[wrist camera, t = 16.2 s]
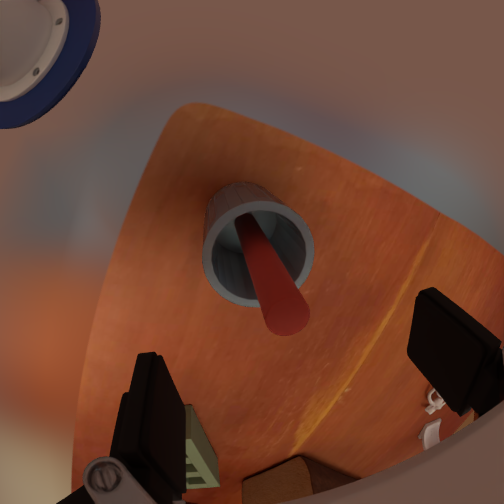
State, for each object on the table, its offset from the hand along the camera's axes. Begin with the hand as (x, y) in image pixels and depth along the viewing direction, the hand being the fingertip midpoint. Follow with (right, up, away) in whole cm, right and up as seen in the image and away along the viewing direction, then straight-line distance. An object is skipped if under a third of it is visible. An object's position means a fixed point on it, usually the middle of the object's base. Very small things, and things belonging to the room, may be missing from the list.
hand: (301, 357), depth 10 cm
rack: (-12, -24, +29) cm, 39 cm away
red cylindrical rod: (-2, +6, +18) cm, 19 cm away
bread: (+13, -50, +42) cm, 66 cm away
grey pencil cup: (-3, +7, +19) cm, 20 cm away
